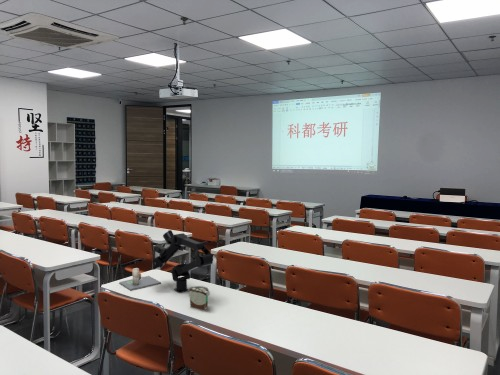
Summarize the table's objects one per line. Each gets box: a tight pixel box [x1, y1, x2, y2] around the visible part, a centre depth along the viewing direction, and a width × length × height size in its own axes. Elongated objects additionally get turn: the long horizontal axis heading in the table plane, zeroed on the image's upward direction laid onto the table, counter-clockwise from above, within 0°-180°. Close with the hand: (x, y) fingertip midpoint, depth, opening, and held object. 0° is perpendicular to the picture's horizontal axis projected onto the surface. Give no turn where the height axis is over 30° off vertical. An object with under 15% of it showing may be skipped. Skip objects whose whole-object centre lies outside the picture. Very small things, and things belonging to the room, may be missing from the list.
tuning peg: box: [132, 267, 142, 285], centre depth 231 cm, size 13×4×9 cm, turn 11°
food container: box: [187, 285, 211, 312], centre depth 196 cm, size 12×6×10 cm, turn 58°
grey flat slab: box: [118, 275, 162, 292], centre depth 231 cm, size 16×19×1 cm
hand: (153, 268), depth 226 cm, fingers closed
